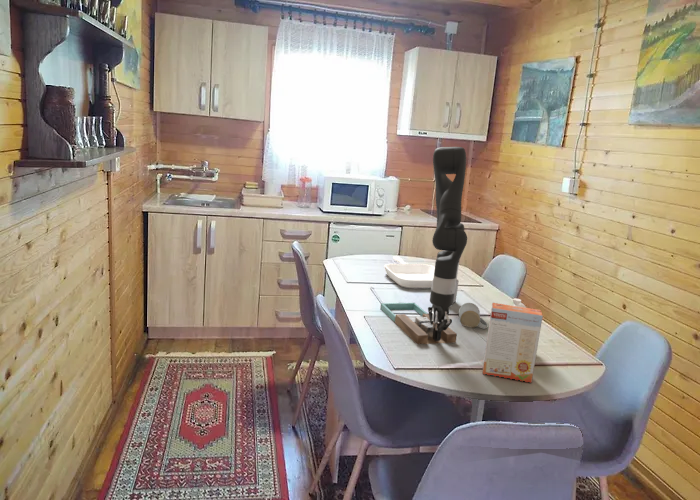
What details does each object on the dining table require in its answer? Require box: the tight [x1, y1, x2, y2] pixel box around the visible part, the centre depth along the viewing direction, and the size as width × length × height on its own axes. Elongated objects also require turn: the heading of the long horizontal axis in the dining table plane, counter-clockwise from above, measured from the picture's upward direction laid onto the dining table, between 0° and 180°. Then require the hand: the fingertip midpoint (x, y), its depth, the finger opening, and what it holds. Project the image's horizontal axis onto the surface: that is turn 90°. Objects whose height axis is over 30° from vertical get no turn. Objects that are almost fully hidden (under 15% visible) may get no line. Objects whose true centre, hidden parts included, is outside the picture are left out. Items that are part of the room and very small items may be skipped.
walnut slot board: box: [394, 313, 458, 345], centre depth 183 cm, size 14×19×4 cm
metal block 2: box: [421, 323, 434, 339], centre depth 179 cm, size 4×4×4 cm
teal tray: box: [379, 302, 429, 323], centre depth 198 cm, size 14×14×3 cm
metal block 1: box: [414, 316, 430, 328], centre depth 184 cm, size 4×4×4 cm
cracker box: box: [482, 302, 544, 384], centre depth 155 cm, size 14×6×21 cm, turn 75°
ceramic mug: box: [458, 302, 489, 330], centre depth 195 cm, size 11×8×8 cm
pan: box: [383, 255, 435, 290], centre depth 256 cm, size 27×44×5 cm, turn 17°
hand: (436, 339), depth 175 cm, fingers closed
